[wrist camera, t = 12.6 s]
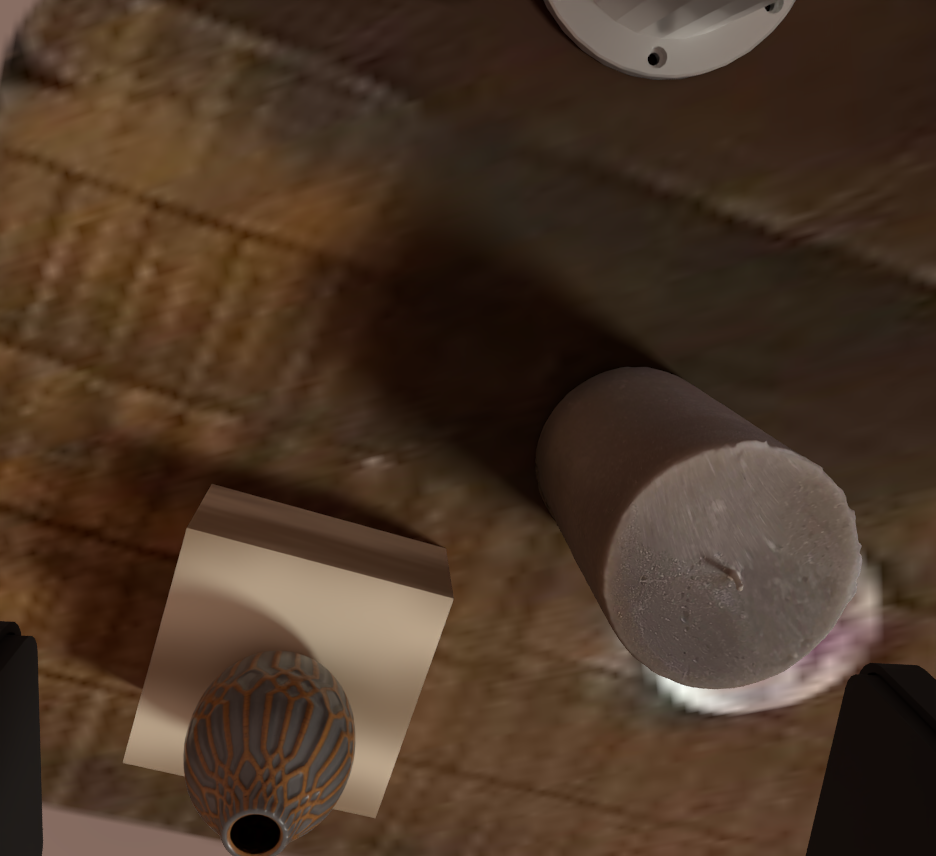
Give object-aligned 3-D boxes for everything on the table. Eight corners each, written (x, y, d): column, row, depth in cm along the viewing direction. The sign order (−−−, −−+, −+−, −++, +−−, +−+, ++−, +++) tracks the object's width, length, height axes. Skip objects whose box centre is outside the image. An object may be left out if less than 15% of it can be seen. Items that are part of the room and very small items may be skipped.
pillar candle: (537, 555, 46) (611, 727, 32) (530, 369, 43) (607, 466, 29) (721, 537, 47) (874, 698, 32) (725, 354, 44) (894, 441, 30)
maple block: (213, 481, 44) (186, 527, 38) (445, 545, 46) (453, 598, 40) (155, 690, 47) (122, 762, 41) (376, 742, 49) (375, 818, 43)
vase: (336, 610, 39) (324, 737, 31) (373, 737, 42) (371, 887, 33) (182, 645, 39) (129, 781, 31) (227, 771, 42) (189, 930, 33)
